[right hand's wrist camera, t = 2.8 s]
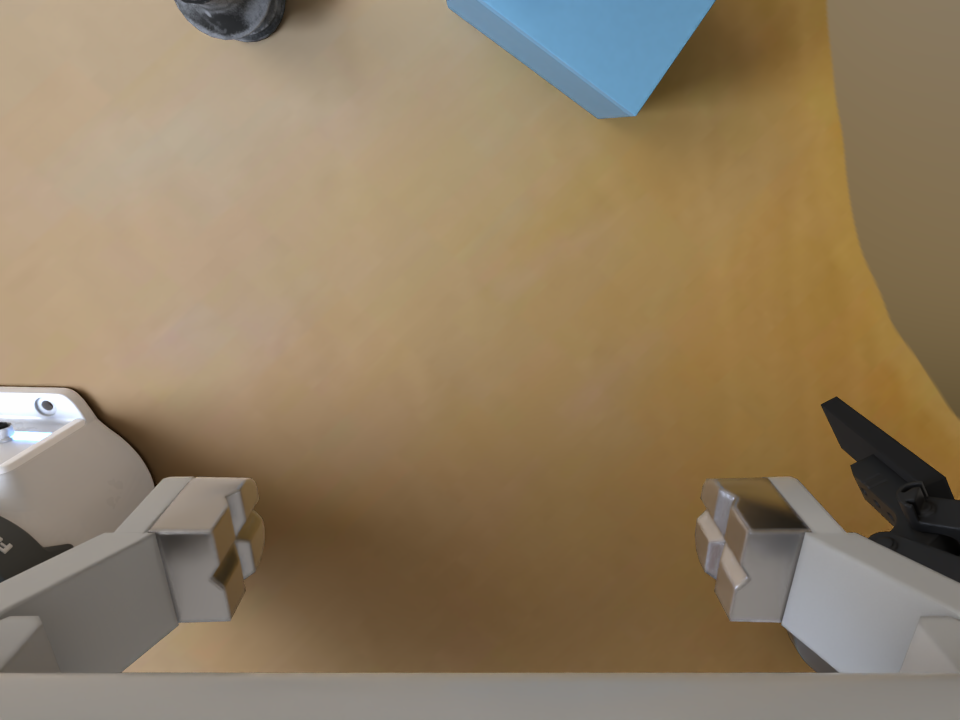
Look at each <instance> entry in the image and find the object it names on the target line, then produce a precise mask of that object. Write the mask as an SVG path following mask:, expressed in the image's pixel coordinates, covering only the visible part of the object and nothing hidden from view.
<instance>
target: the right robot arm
mask: <svg viewBox="0 0 960 720" xmlns="http://www.w3.org/2000/svg"><path fill="white" fill-rule="evenodd" d="M48 401H49V402H51V403H52V405H53V406H52V405H50V404H49V402H48ZM258 500H259V494H258V489H257V484H256V482H255V481H254V480H253V479H252V478H232V477H168V478H164V479H162V480H161V481H160V483H159V484H158V485H157V486H156V487H154V483H153V480H152V477H151V474H150V472H149V470H148V468H147V467H146V465H145V463H144V462H143V460H142V459H141V457H140V456H139V455H138V453H137V452H136V451H135V450H134V449H133V448H132V447H131V446H130V445H129V444H128V443H127V442H126V441H125V440H124V439H123V438H121V437H120V436H119V435H118V434H116V433H115V432H113V431H112V430H111V429H109V428H108V427H107V426H105V425H104V424H103V423H102V422H101V421H100V420H98V419H97V417H96V416H95V414H94V413H93V411H92V410H91V409H90V407H89V406H88V404H87V403H86V402H85V400H84V399H83V398H82V397H81V396H80V395H79V394H78V393H77V392H75V391H73V390H71V389H68V388H51V387H0V720H960V583H959V582H957V581H954V580H952V579H950V578H948V577H946V576H944V575H942V574H940V573H938V572H936V571H934V570H932V569H930V568H928V567H926V566H923V565H921V564H919V563H917V562H915V561H913V560H911V559H909V558H907V557H905V556H903V555H901V554H899V553H897V552H895V551H892V550H890V549H888V548H886V547H884V546H882V545H880V544H878V543H876V542H874V541H872V540H870V539H868V538H866V537H864V536H861V535H859V534H857V533H846V532H845V531H844V529H843V528H842V527H841V526H840V525H839V524H838V523H837V522H836V521H835V520H834V519H833V517H832V516H831V515H830V514H829V513H828V512H827V511H826V510H825V509H824V508H823V507H822V505H821V504H820V503H819V502H818V501H817V500H816V499H815V498H814V497H813V496H812V495H811V493H810V492H809V491H808V490H807V489H806V488H805V487H804V486H803V485H802V484H801V482H800V481H799V480H798V479H796V478H793V477H791V476H783V477H762V478H719V479H706V481H705V483H704V485H703V488H702V493H701V500H702V502H703V503H704V505H705V507H706V508H707V509H706V510H705V511H704V512H703V513H702V514H701V515H700V516H699V517H698V518H697V523H696V530H695V541H696V551H697V554H698V558H699V561H700V563H701V565H702V567H703V570H704V572H706V573H707V574H708V575H710V576H711V577H713V578H714V579H716V584H715V590H714V591H715V593H716V595H717V597H718V599H719V601H720V603H721V605H722V607H723V609H724V611H725V613H726V615H727V616H728V618H729V620H730V621H743V622H779V623H782V624H781V625H782V626H783V627H784V628H786V629H787V630H788V631H789V632H790V633H792V634H793V635H794V636H795V637H797V638H798V639H799V640H800V641H801V642H803V643H804V644H805V645H806V646H807V647H809V648H810V649H811V650H812V651H814V652H815V653H816V654H817V655H818V656H820V657H821V658H822V659H823V660H824V661H826V662H827V663H828V664H829V665H831V666H832V667H833V668H834V669H835V670H837V671H838V672H839V673H121V672H122V671H124V670H125V669H126V668H127V667H128V666H130V665H131V664H132V663H133V662H134V661H136V660H137V659H138V658H139V657H141V656H142V655H143V654H144V653H145V652H147V651H148V650H149V649H150V648H152V647H153V646H154V645H155V644H156V643H158V642H159V641H160V640H161V639H162V638H164V637H165V636H166V635H167V634H169V633H170V632H171V631H172V630H173V629H175V628H176V627H177V626H178V625H179V624H178V623H181V622H216V621H230V620H231V619H232V617H233V615H234V613H235V611H236V609H237V607H238V605H239V603H240V601H241V599H242V597H243V595H244V593H245V591H246V590H245V584H244V579H246V578H247V577H249V576H250V575H252V574H253V573H254V572H256V569H257V567H258V565H259V563H260V561H261V558H262V554H263V549H264V545H265V528H264V522H263V518H262V517H261V516H260V515H259V514H258V513H257V512H256V511H255V510H254V509H253V508H254V507H255V505H256V503H257V502H258Z"/></svg>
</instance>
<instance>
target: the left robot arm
mask: <svg viewBox="0 0 960 720" xmlns="http://www.w3.org/2000/svg"><path fill="white" fill-rule="evenodd" d="M821 406H822V408H823V411H824V413H825V415H826V417H827V419H828V421H829V423H830V425H831V427H832V429H833V431H834V434H835V436H836V438H837V440H838V442H839V444H840V446H841V448H842V449H843V450H844V451H846V452H847V453H848V454H849V455H850V456H851V457H852V458H854V459H855V460H856V461H857V462H856V463H854V464H852V465H850V466H851V469H852V473H853V475H854V477H855V480H856V482H857V484H858V486H859V488H860V490H861V492H862V494H863V496H864V498H865V500H866V501H868V502H869V503H870V504H871V505H872V506H873V507H874V508H875V509H876V510H877V511H878V512H879V513H881V515H882V516H883V517H884V518H885V519H886V520H888V521H889V522H890V523H891V524H892V525H893V526H894V528H893V529H892V530H891V531H890V532H879V533H876V534H873V535H872V536H870V537H869V538H868V539H870V540H872V541H874V542H876V543H878V544H880V545H882V546H884V547H886V548H888V549H890V550H892V551H895V552H897V553H899V554H901V555H903V556H905V557H907V558H909V559H911V560H913V561H915V562H917V563H919V564H921V565H923V566H926V567H928V568H930V569H932V570H934V571H936V572H938V573H940V574H942V575H944V576H946V577H948V578H950V579H952V580H954V581H957V582H959V583H960V500H955V499H954V497H953V495H952V492H951V490H950V487H949V485H948V482H947V480H946V477H945V476H943V475H942V474H941V473H939V472H938V471H936V470H935V469H934V468H932V467H931V466H930V465H928V464H927V463H926V462H924V461H923V460H922V459H920V458H919V457H918V456H916V455H915V454H913V453H912V452H911V451H909V450H908V449H907V448H905V447H904V446H903V445H901V444H900V443H899V442H897V441H896V440H895V439H893V438H892V437H891V436H889V435H888V434H886V433H885V432H884V431H882V430H881V429H880V428H878V427H877V426H876V425H874V424H873V423H872V422H870V421H869V420H868V419H866V418H865V417H863V416H862V415H861V414H859V413H858V412H857V411H855V410H854V409H853V408H851V407H850V406H849V405H847V404H846V403H845V402H843V401H842V400H841V399H839V398H838V397H835V398H833V399H831V400H829V401H827V402H825V403H823V404H821ZM787 632H788V635H789V637H790V639H791V641H792V643H793V644H794V646H795V648H796V649H797V651H798V652H799V654H800V656H801V657H802V659H803V660H804V661H805V662H806V663H807V664H808V665H809V666H810V667H811V668H812V669H814V670H815V671H816V672H817V673H839V672H838V671H837V670H835V669H834V668H833V667H832V666H831V665H829V664H828V663H827V662H826V661H824V660H823V659H822V658H821V657H820V656H818V655H817V654H816V653H815V652H814V651H812V650H811V649H810V648H809V647H807V646H806V645H805V644H804V643H803V642H801V641H800V640H799V639H798V638H797V637H795V636H794V635H793V634H792V633H790V632H789V631H788V630H787Z"/></svg>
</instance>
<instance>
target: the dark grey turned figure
mask: <svg viewBox="0 0 960 720" xmlns="http://www.w3.org/2000/svg"><path fill="white" fill-rule="evenodd" d="M175 2H176V5H177V7H178V8H179V10H180V11H181V12H182V14H183V15H184V16H185V18H186V19H187V20H188V21H189V22H190V23H191V24H192V25H193V26H195V27H196V28H197V29H198V30H199V31H201V32H203V33H205V34H207V35H209V36H211V37H214V38H219V39H223V40H232V39H235V40H238V41H243V42H257V41H260V40H262V39H265V38H267V37H268V36H269V35H270V34H272V33H273V32H274V31H275V30H276V28H277V27H278V25H279V24H280V22H281V20H282V17H283V13H284V10H285V0H175Z"/></svg>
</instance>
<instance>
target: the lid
mask: <svg viewBox="0 0 960 720" xmlns="http://www.w3.org/2000/svg"><path fill="white" fill-rule="evenodd" d="M477 1H478V2H480V3H481V4H482V5H484V6H485V7H486V8H488V9H489V10H490V11H492V12H493V13H494V14H496V15H497V16H498V17H500V18H501V19H502V20H504V21H505V22H506V23H508V24H509V25H510V26H512V27H513V28H514V29H516V30H517V31H518V32H520V33H521V34H522V35H524V36H525V37H526V38H527V39H529V40H530V41H531V42H533V43H534V44H535V45H537V46H538V47H539V48H541V49H542V50H543V51H545V52H546V53H547V54H549V55H550V56H551V57H553V58H554V59H555V60H557V61H558V62H559V63H561V64H562V65H563V66H565V67H566V68H567V69H569V70H570V71H571V72H572V73H574V74H575V75H576V76H578V77H579V78H580V79H582V80H583V81H584V82H586V83H587V84H588V85H590V86H591V87H592V88H594V89H595V90H596V91H598V92H599V93H600V94H602V95H603V96H604V97H606V98H607V99H608V100H610V101H611V102H612V103H614V104H615V105H616V106H618V107H619V108H620V109H621V110H623V111H624V112H625V113H627V114H628V115H629V116H636V115H637V114H638V112H639V111H640V110H641V108H642V107H643V105H644V104H645V102H646V101H647V99H648V98H649V96H650V95H651V94H652V92H653V91H654V89H655V88H656V86H657V85H658V83H659V82H660V81H661V79H662V78H663V76H664V75H665V73H666V72H667V70H668V69H669V68H670V66H671V65H672V63H673V62H674V60H675V59H676V57H677V56H678V55H679V53H680V52H681V50H682V49H683V47H684V46H685V44H686V43H687V41H688V40H689V39H690V37H691V36H692V34H693V33H694V31H695V30H696V28H697V27H698V26H699V24H700V23H701V21H702V20H703V18H704V17H705V15H706V14H707V13H708V11H709V10H710V8H711V7H712V5H713V4H714V2H715V1H716V0H477Z"/></svg>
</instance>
